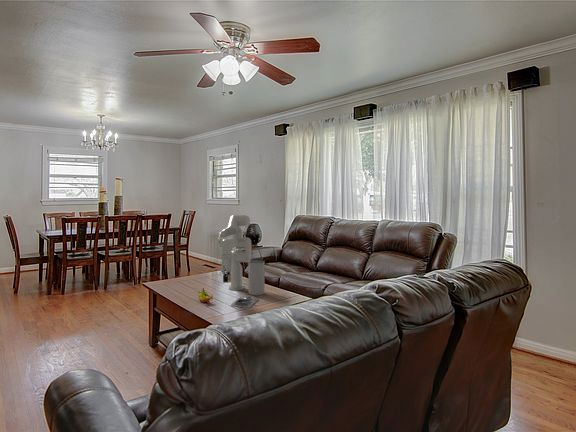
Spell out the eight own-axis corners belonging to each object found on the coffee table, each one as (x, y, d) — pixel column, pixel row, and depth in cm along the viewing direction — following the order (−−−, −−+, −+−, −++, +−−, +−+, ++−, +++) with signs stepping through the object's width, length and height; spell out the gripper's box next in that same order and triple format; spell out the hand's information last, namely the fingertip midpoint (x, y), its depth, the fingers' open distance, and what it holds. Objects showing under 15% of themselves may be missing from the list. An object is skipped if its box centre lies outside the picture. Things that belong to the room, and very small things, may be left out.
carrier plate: (240, 298, 278) (240, 295, 278) (258, 299, 275) (258, 296, 275) (230, 306, 259) (230, 302, 258) (249, 307, 256) (249, 304, 255)
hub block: (225, 281, 272) (225, 274, 271) (231, 281, 271) (231, 274, 270) (222, 282, 267) (222, 275, 267) (228, 283, 266) (228, 276, 266)
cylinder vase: (265, 291, 297) (265, 260, 296) (263, 295, 285) (263, 263, 283) (250, 291, 299) (250, 260, 297) (247, 295, 286) (247, 263, 285)
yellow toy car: (204, 305, 260) (204, 291, 260) (194, 299, 275) (194, 286, 274) (213, 303, 264) (213, 290, 264) (203, 297, 279) (203, 284, 278)
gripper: (226, 254, 277) (226, 278, 278) (217, 257, 260) (217, 283, 261) (236, 254, 275) (236, 278, 276) (227, 258, 259) (227, 284, 260)
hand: (227, 280), depth 269 cm, fingers closed on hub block, 4 cm apart
